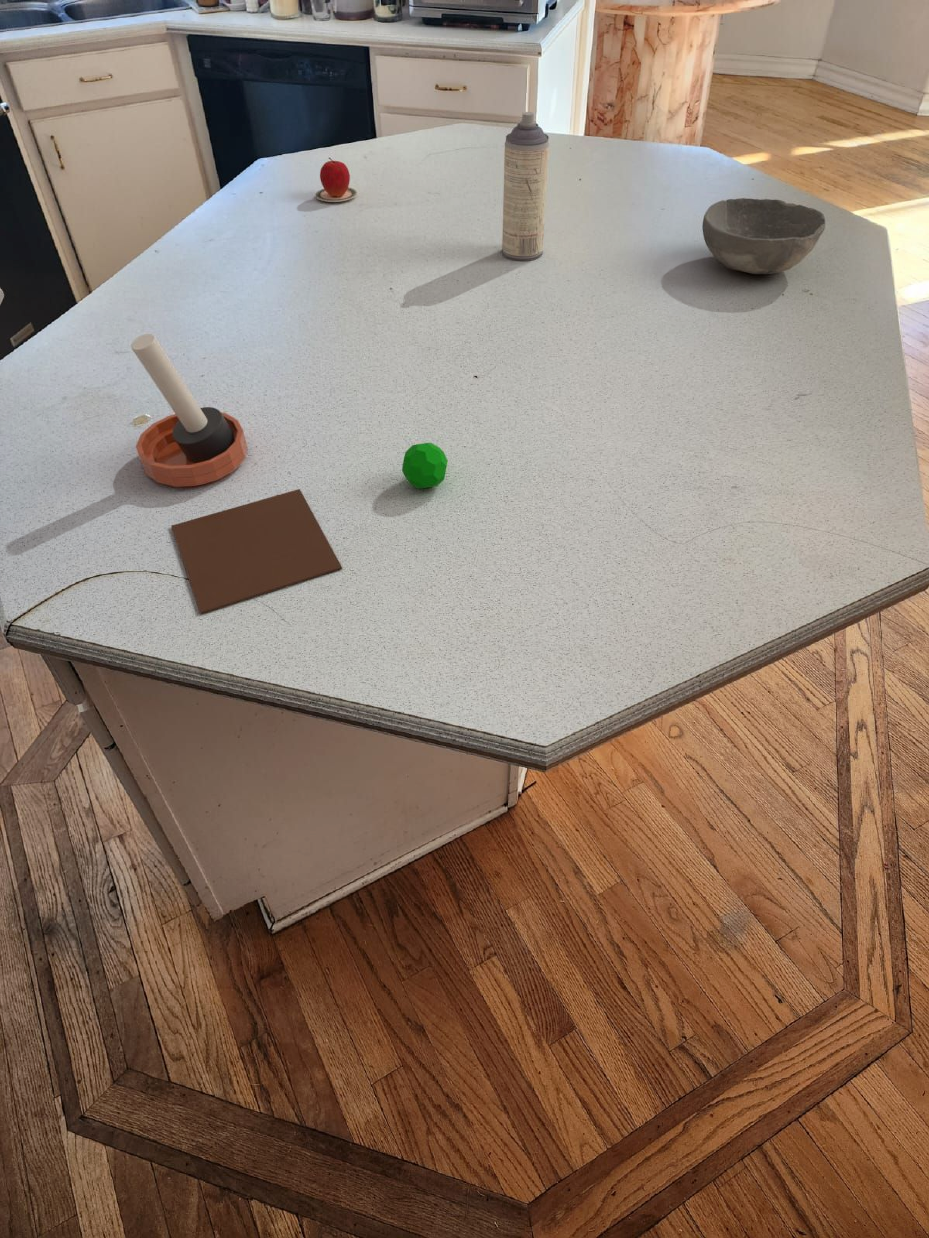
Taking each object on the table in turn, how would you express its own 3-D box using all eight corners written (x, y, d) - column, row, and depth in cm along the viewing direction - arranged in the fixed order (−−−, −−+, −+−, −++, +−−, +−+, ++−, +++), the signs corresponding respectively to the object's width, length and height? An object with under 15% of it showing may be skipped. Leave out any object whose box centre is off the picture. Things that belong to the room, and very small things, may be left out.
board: (200, 614, 71) (200, 612, 71) (171, 527, 79) (171, 525, 79) (342, 569, 75) (341, 566, 75) (300, 491, 83) (299, 488, 83)
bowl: (671, 258, 125) (681, 206, 119) (752, 237, 130) (765, 186, 124) (748, 300, 114) (763, 245, 108) (833, 276, 119) (851, 222, 114)
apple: (323, 188, 150) (318, 151, 145) (362, 191, 148) (358, 153, 144) (310, 203, 144) (304, 164, 139) (350, 205, 143) (345, 167, 138)
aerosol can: (551, 253, 127) (560, 113, 112) (522, 264, 124) (528, 123, 109) (521, 241, 130) (527, 105, 116) (493, 252, 127) (495, 113, 113)
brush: (189, 470, 86) (117, 369, 74) (182, 440, 89) (112, 338, 78) (238, 449, 86) (173, 345, 75) (229, 419, 89) (166, 315, 78)
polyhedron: (455, 476, 85) (454, 440, 81) (437, 501, 82) (435, 465, 78) (415, 466, 86) (412, 430, 83) (395, 490, 83) (392, 454, 80)
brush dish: (155, 502, 82) (146, 479, 80) (137, 447, 90) (129, 425, 87) (259, 473, 86) (253, 451, 84) (234, 422, 93) (228, 401, 91)
